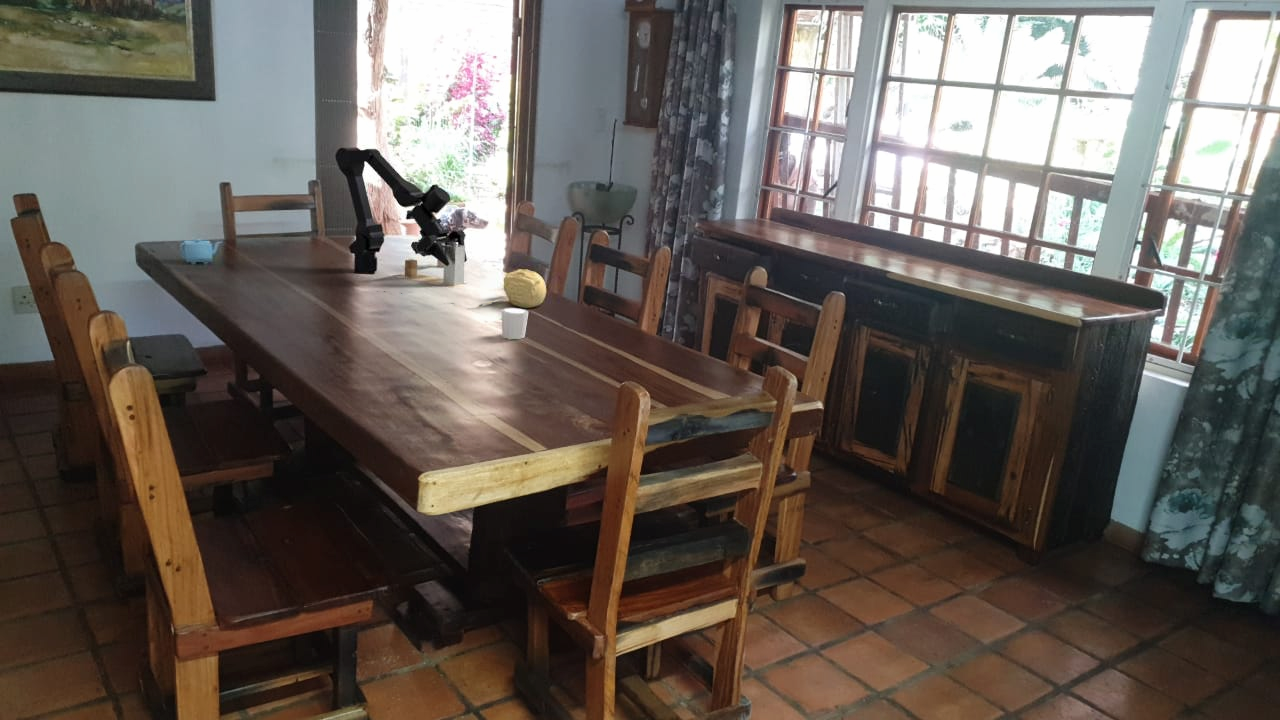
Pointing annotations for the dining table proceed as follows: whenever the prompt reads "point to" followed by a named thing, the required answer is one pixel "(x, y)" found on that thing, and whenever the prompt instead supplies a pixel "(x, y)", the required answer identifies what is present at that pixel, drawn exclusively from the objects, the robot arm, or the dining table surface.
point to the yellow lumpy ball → (524, 288)
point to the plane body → (412, 275)
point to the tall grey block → (454, 264)
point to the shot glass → (514, 323)
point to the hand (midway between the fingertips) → (457, 263)
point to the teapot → (198, 251)
